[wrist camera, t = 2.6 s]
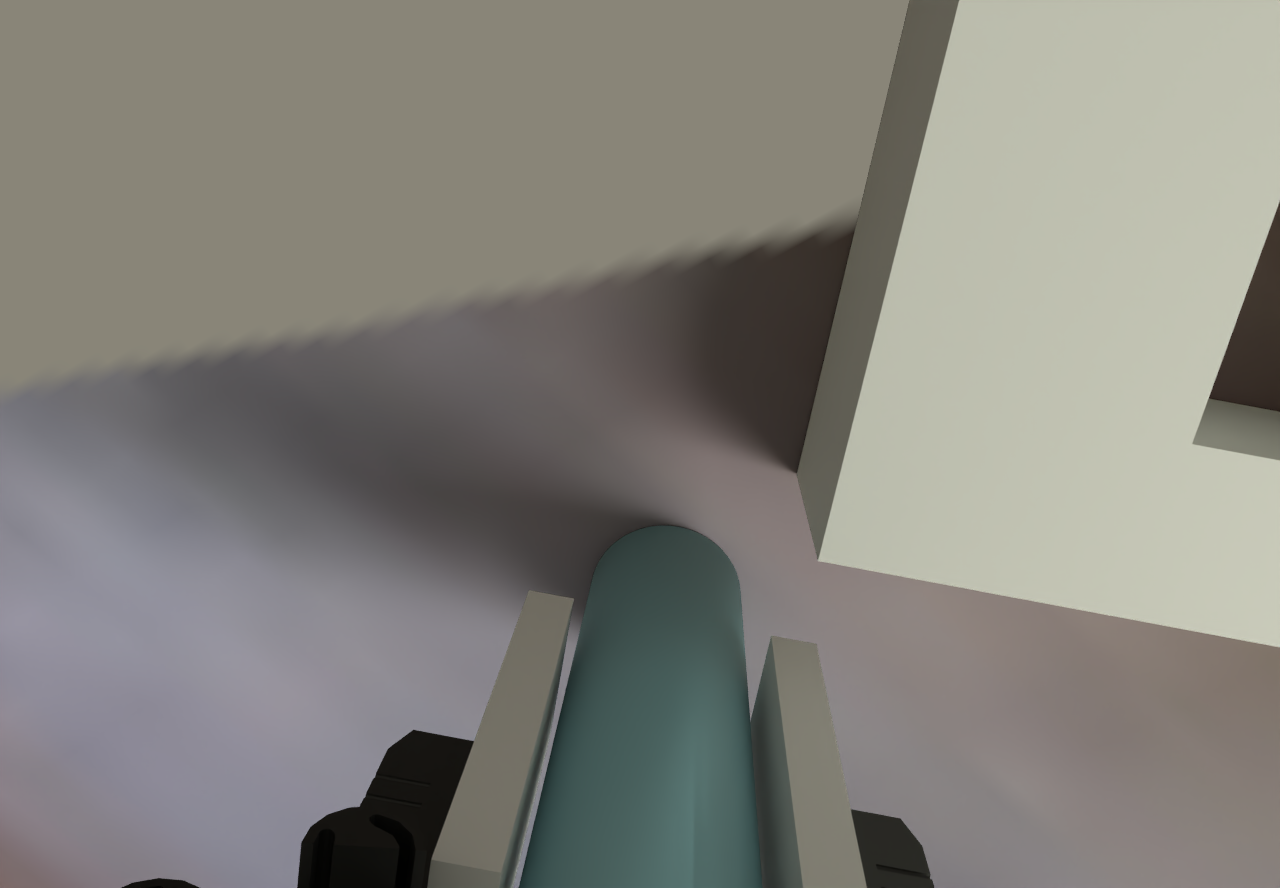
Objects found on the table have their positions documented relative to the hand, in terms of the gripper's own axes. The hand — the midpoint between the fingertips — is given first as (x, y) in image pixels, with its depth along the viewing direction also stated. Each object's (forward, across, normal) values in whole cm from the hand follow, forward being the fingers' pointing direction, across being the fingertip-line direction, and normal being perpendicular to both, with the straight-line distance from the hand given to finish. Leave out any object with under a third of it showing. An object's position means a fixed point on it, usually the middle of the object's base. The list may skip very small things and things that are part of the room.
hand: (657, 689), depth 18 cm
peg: (+4, 0, 0) cm, 4 cm away
